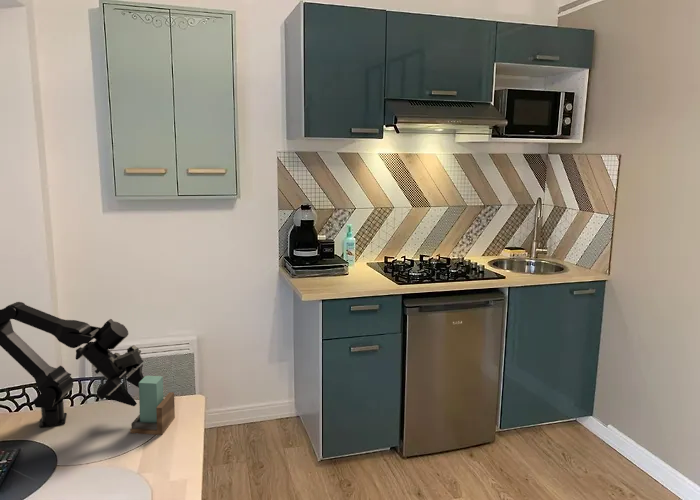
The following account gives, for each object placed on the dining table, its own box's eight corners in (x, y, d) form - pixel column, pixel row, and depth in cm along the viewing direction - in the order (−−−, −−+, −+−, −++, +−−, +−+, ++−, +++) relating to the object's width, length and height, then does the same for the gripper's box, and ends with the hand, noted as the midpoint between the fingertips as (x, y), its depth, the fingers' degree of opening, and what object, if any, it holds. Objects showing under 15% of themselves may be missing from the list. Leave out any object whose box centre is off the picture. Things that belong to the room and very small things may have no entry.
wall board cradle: (130, 433, 152) (129, 406, 150) (144, 416, 161) (144, 391, 160) (162, 434, 151) (161, 408, 150) (174, 417, 161) (174, 392, 160)
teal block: (140, 425, 154) (138, 382, 152) (147, 417, 159) (145, 375, 156) (157, 426, 154) (156, 383, 151) (164, 418, 159) (162, 376, 156)
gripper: (106, 353, 143) (148, 394, 145) (136, 330, 161) (173, 367, 163) (78, 379, 145) (120, 420, 146) (110, 354, 163) (147, 390, 165)
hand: (142, 397), depth 155 cm, fingers open, 9 cm apart
